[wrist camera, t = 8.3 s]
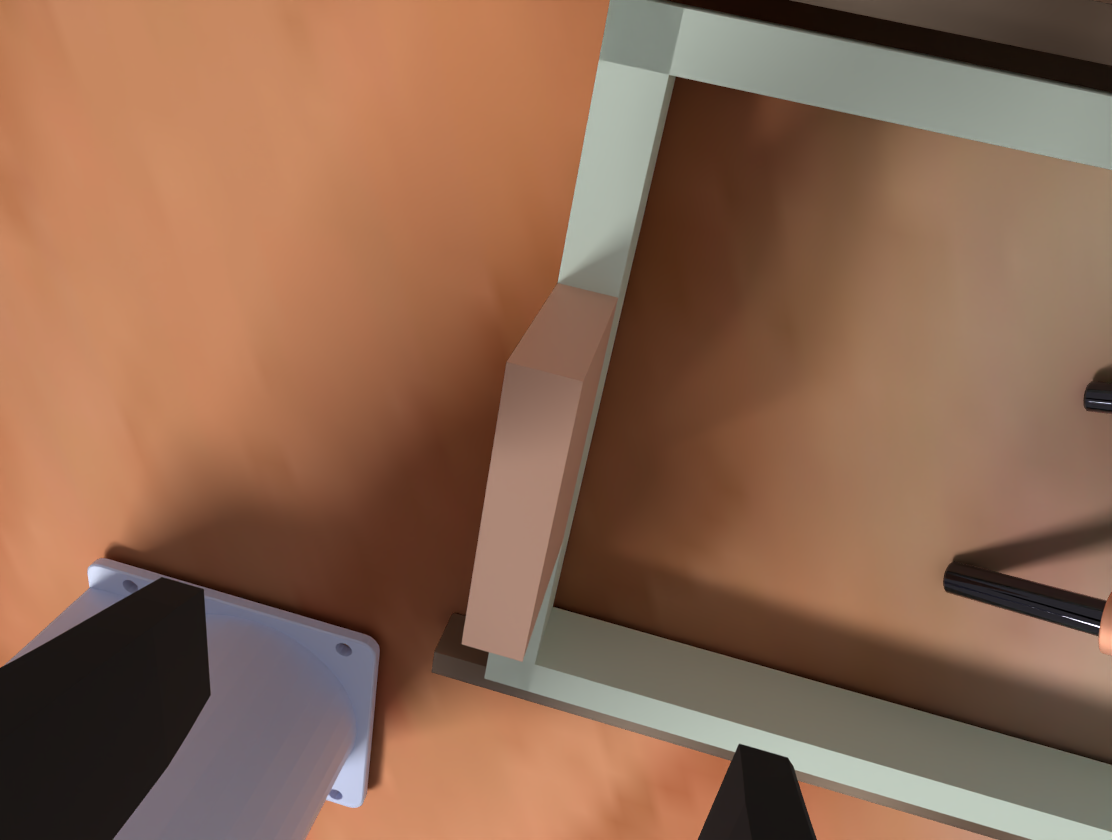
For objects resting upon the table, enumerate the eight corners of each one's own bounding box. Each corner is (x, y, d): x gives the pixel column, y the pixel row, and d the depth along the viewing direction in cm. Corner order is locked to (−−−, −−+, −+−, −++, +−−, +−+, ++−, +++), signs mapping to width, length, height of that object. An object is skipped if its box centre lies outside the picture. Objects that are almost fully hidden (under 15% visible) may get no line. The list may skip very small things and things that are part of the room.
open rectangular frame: (505, 620, 23) (435, 806, 18) (628, -8, 15) (565, -6, 10) (1217, 825, 21) (1371, 1098, 16) (1791, 232, 13) (2478, 393, 8)
